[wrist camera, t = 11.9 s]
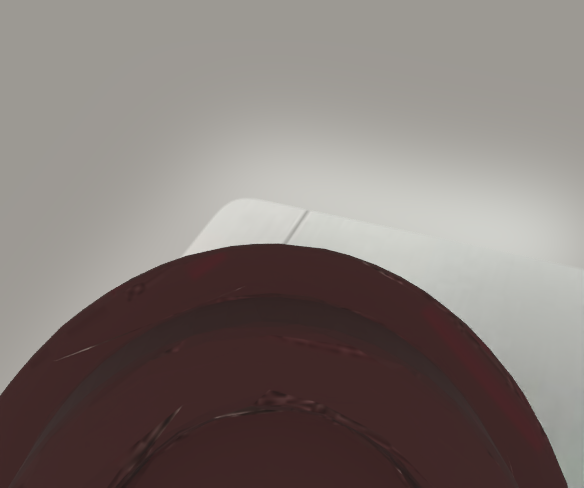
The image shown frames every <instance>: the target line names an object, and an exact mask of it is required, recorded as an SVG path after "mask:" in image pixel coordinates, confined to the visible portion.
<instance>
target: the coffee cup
mask: <svg viewBox="0 0 584 488" xmlns="http://www.w3.org/2000/svg"><path fill="white" fill-rule="evenodd" d="M0 488H568V486H567V483H566V480H565V478H564V476H563V473H562V471H561V468H560V466H559V464H558V461H557V459H556V456H555V454H554V452H553V449H552V447H551V444H550V442H549V440H548V437H547V435H546V434H545V432H544V430H543V428H542V426H541V424H540V423H539V421H538V419H537V417H536V415H535V413H534V412H533V410H532V408H531V406H530V404H529V402H528V401H527V399H526V397H525V395H524V394H523V392H522V391H521V389H520V388H519V386H518V385H517V383H516V382H515V380H514V379H513V377H512V376H511V375H510V374H509V372H508V371H507V370H506V369H505V367H504V366H503V365H502V364H501V363H500V361H499V360H498V359H497V358H496V356H495V355H494V354H493V353H492V351H491V350H490V349H489V348H488V347H487V346H486V345H485V344H484V342H483V341H482V340H481V339H480V338H479V337H478V336H477V335H476V334H475V333H474V332H473V331H472V330H471V329H470V328H469V327H468V325H467V324H465V323H464V322H463V321H462V320H461V319H459V318H458V317H457V316H456V315H455V314H453V313H452V312H451V311H450V310H449V309H447V308H446V307H445V306H444V305H442V304H441V303H440V302H438V301H437V300H436V299H434V298H433V297H432V296H430V295H429V294H428V293H426V292H425V291H423V290H422V289H420V288H418V287H417V286H415V285H413V284H412V283H410V282H408V281H407V280H405V279H403V278H402V277H400V276H398V275H396V274H394V273H392V272H389V271H387V270H385V269H383V268H381V267H379V266H377V265H374V264H372V263H369V262H366V261H363V260H361V259H358V258H355V257H352V256H350V255H346V254H342V253H338V252H334V251H330V250H327V249H321V248H312V247H303V246H294V245H285V244H250V245H239V246H230V247H225V248H220V249H215V250H211V251H206V252H202V253H197V254H193V255H188V256H185V257H182V258H179V259H176V260H174V261H171V262H168V263H165V264H162V265H160V266H158V267H155V268H153V269H151V270H149V271H147V272H145V273H143V274H140V275H138V276H136V277H134V278H132V279H130V280H129V281H127V282H125V283H123V284H121V285H120V286H118V287H116V288H115V289H113V290H111V291H110V292H108V293H106V294H105V295H103V296H102V297H100V298H99V299H98V300H96V301H95V302H93V303H92V304H91V305H89V306H88V307H86V308H85V309H83V310H82V311H81V312H79V313H78V314H77V315H76V316H74V317H73V318H72V319H71V320H69V321H68V322H67V323H65V324H64V325H63V326H62V327H61V328H60V329H59V330H58V331H57V332H56V333H55V334H54V335H53V336H52V337H51V338H50V339H49V340H48V341H47V342H46V343H45V344H44V345H43V346H42V347H41V348H40V349H39V350H38V351H37V352H36V353H35V354H34V355H33V356H32V357H31V359H30V360H29V361H28V362H27V363H26V364H25V365H24V367H23V368H22V369H21V370H20V371H19V373H18V374H17V375H16V376H15V377H14V379H13V380H12V381H11V382H10V384H9V385H8V386H7V387H6V389H5V390H4V391H3V393H2V394H1V395H0Z"/></svg>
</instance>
